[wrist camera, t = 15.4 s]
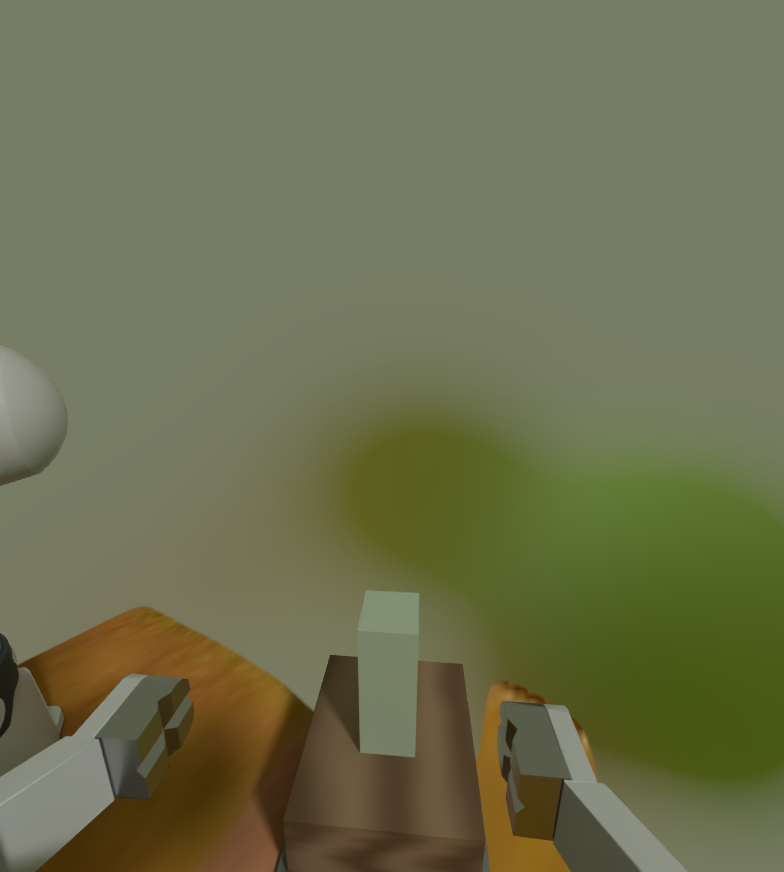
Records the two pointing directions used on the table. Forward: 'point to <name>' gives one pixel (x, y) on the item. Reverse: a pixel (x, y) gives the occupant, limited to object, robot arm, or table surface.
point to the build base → (387, 785)
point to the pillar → (388, 672)
